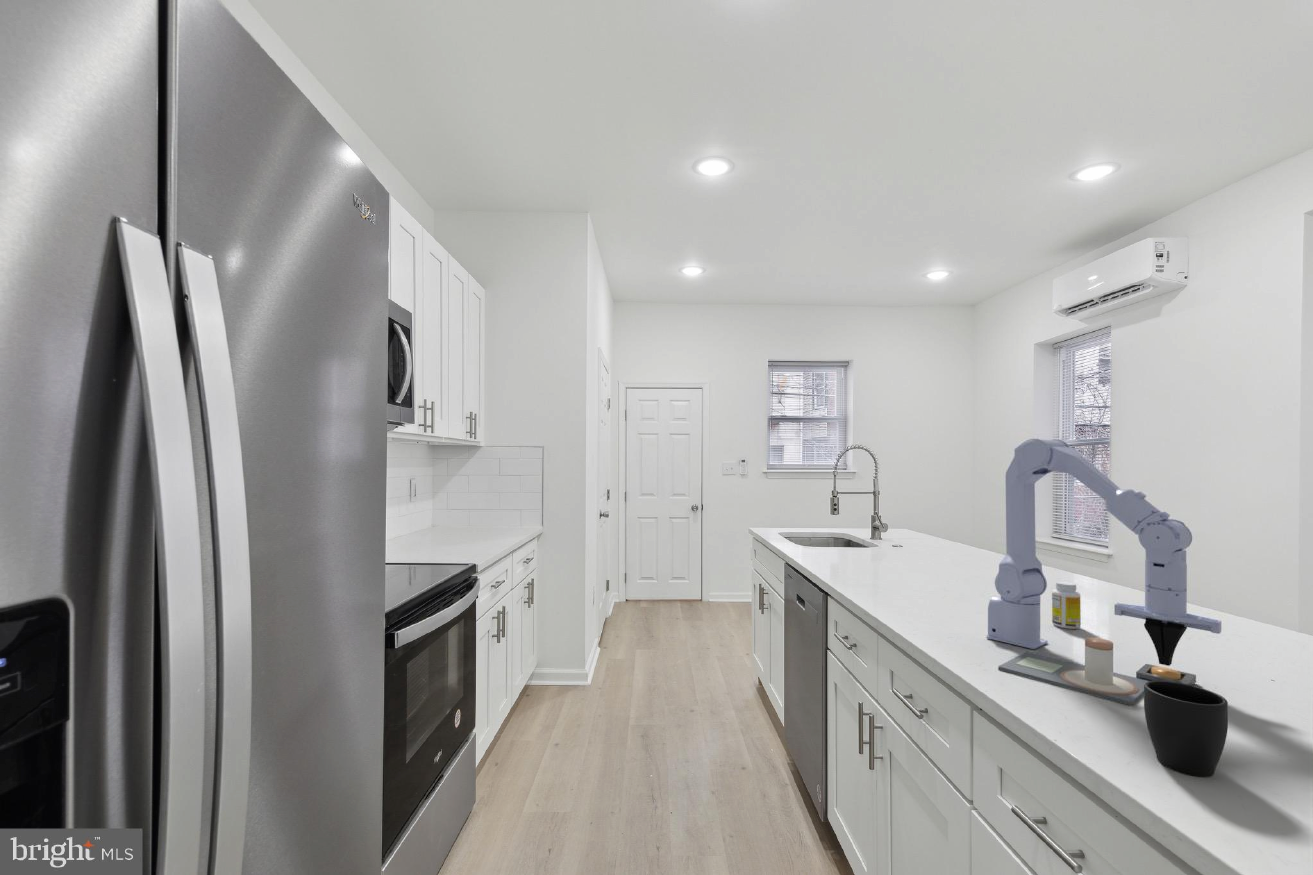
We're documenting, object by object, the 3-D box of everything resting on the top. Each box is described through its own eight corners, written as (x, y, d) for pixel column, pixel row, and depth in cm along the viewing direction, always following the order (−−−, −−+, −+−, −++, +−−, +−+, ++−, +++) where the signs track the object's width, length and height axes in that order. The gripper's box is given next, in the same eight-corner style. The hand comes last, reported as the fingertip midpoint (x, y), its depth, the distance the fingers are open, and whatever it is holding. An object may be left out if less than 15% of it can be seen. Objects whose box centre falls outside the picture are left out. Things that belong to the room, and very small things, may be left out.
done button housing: (1136, 680, 108) (1136, 671, 108) (1146, 671, 112) (1146, 663, 112) (1187, 692, 102) (1187, 684, 102) (1195, 683, 107) (1195, 674, 107)
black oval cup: (1218, 751, 82) (1218, 681, 82) (1233, 791, 72) (1233, 711, 72) (1141, 734, 87) (1141, 667, 87) (1145, 768, 77) (1145, 693, 77)
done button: (1148, 679, 107) (1148, 669, 107) (1154, 674, 110) (1154, 665, 110) (1177, 686, 104) (1177, 676, 104) (1182, 681, 107) (1182, 671, 107)
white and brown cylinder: (1081, 680, 105) (1081, 640, 105) (1088, 674, 108) (1088, 635, 108) (1109, 687, 102) (1109, 646, 102) (1116, 681, 105) (1116, 641, 105)
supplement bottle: (1083, 627, 141) (1083, 583, 141) (1076, 631, 137) (1076, 586, 138) (1056, 621, 145) (1056, 579, 145) (1048, 625, 142) (1048, 582, 142)
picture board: (998, 669, 112) (998, 665, 112) (1026, 654, 121) (1026, 650, 121) (1131, 705, 96) (1131, 700, 96) (1153, 685, 105) (1153, 680, 105)
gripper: (1109, 582, 111) (1109, 656, 110) (1216, 599, 99) (1216, 681, 99) (1120, 578, 115) (1120, 649, 115) (1223, 593, 104) (1223, 672, 103)
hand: (1165, 663), depth 107 cm, fingers closed
